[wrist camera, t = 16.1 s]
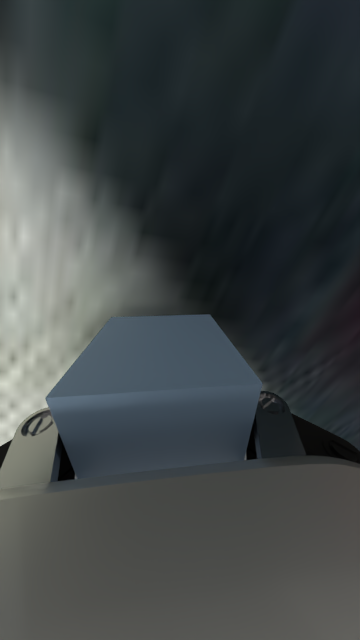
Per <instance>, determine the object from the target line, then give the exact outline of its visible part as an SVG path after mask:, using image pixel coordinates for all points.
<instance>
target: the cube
mask: <svg viewBox="0 0 360 640" xmlns="http://www.w3.org/2000/svg"><path fill="white" fill-rule="evenodd" d="M261 388H262V382H261V381H260V380H259V378H258V377H257V376H256V374H255V373H254V372H253V370H252V369H251V368H250V366H249V365H248V364H247V362H246V361H245V360H244V359H243V357H242V356H241V355H240V353H239V352H238V351H237V349H236V348H235V347H234V345H233V344H232V343H231V341H230V340H229V339H228V338H227V336H226V335H225V334H224V332H223V331H222V330H221V328H220V327H219V326H218V324H217V323H216V322H215V320H214V319H213V318H212V316H211V315H210V314H203V315H167V316H131V317H111V318H110V319H109V321H108V322H107V323H106V324H105V325H104V327H103V328H102V329H101V330H100V332H99V333H98V334H97V335H96V336H95V338H94V339H93V340H92V341H91V343H90V344H89V345H88V346H87V348H86V349H85V350H84V351H83V352H82V354H81V355H80V356H79V357H78V359H77V360H76V361H75V362H74V364H73V365H72V366H71V367H70V368H69V370H68V371H67V372H66V373H65V375H64V376H63V377H62V378H61V379H60V381H59V382H58V383H57V384H56V386H55V387H54V388H53V389H52V391H51V392H50V393H49V394H48V395H47V397H46V398H45V399H46V401H47V404H48V406H49V409H50V411H51V414H52V416H53V419H54V421H55V424H56V426H57V429H58V431H59V434H60V437H61V439H62V442H63V444H64V447H65V449H66V452H67V454H68V457H69V459H70V462H71V464H72V467H73V469H74V472H75V474H76V477H77V479H82V478H91V477H99V476H108V475H116V474H125V473H134V472H143V471H152V470H161V469H170V468H179V467H188V466H197V465H206V464H215V463H225V462H234V461H244V458H245V454H246V450H247V446H248V442H249V437H250V433H251V429H252V425H253V421H254V417H255V413H256V409H257V404H258V400H259V396H260V392H261Z"/></svg>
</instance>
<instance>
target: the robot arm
mask: <svg viewBox="0 0 360 640" xmlns="http://www.w3.org/2000/svg"><path fill="white" fill-rule="evenodd" d="M0 640H360V451H359V450H358V449H357V448H355V447H354V446H353V445H352V444H350V443H349V442H347V441H346V440H344V439H342V438H340V437H338V436H336V435H334V434H332V433H330V432H328V431H326V430H324V429H322V428H320V427H318V426H316V425H314V424H312V423H310V422H308V421H306V420H304V419H302V418H300V417H298V416H296V415H294V414H291V412H290V409H289V407H288V405H287V403H286V402H285V401H284V400H283V399H282V398H281V397H279V396H278V395H276V394H274V393H271V392H268V391H261V392H260V396H259V400H258V404H257V409H256V413H255V417H254V421H253V425H252V429H251V433H250V437H249V442H248V446H247V450H246V454H245V458H244V461H234V462H225V463H215V464H206V465H197V466H188V467H179V468H170V469H161V470H152V471H143V472H134V473H125V474H116V475H108V476H99V477H91V478H82V479H77V477H76V474H75V472H74V469H73V467H72V464H71V462H70V459H69V457H68V454H67V452H66V449H65V447H64V444H63V442H62V439H61V437H60V434H59V431H58V429H57V426H56V424H55V421H54V419H53V416H52V414H51V411H50V409H49V407H48V408H44V409H41V410H39V411H37V412H35V413H33V414H31V415H30V416H29V417H27V418H26V419H25V420H24V421H23V422H22V423H21V424H20V425H19V427H18V428H17V430H16V432H15V435H14V437H13V439H12V440H10V441H9V442H7V443H5V444H4V445H2V446H0Z"/></svg>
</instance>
